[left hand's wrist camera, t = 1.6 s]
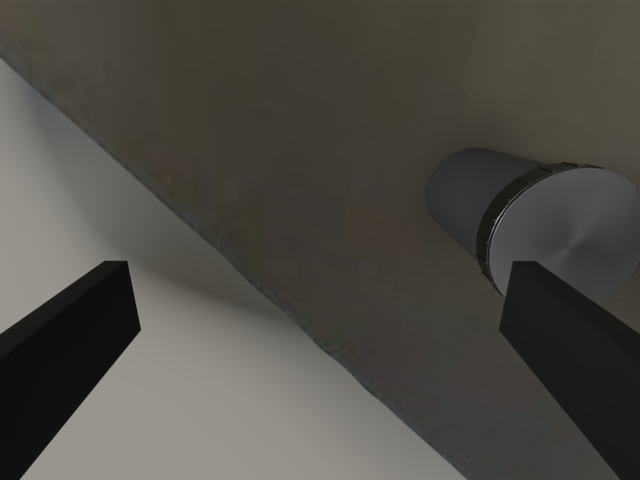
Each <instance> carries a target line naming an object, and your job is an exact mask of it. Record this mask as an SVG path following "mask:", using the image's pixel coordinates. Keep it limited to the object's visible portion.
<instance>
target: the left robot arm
mask: <svg viewBox="0 0 640 480" xmlns="http://www.w3.org/2000/svg"><path fill="white" fill-rule="evenodd" d="M140 331H141V327H140V322H139V317H138V313H137V307H136V303H135V297H134V293H133V287H132V283H131V278H130V273H129V268H128V263H127V261H104V262H102V263H101V264H100V265H98V266H97V267H95V268H94V269H92V270H91V271H89V272H88V273H87V274H85V275H84V276H82V277H81V278H80V279H78V280H77V281H75V282H74V283H72V284H71V285H70V286H68V287H67V288H65V289H64V290H62V291H61V292H60V293H58V294H57V295H55V296H54V297H52V298H51V299H50V300H48V301H47V302H45V303H44V304H43V305H41V306H40V307H38V308H37V309H35V310H34V311H33V312H31V313H30V314H28V315H27V316H25V317H24V318H23V319H21V320H20V321H18V322H17V323H15V324H14V325H13V326H11V327H10V328H8V329H7V330H6V331H4V332H3V333H1V334H0V480H20V478H21V477H22V476H23V475H24V474H25V472H26V471H27V470H28V469H29V467H30V466H31V465H32V464H33V462H34V461H35V460H36V459H37V458H38V456H39V455H40V454H41V453H42V451H43V450H44V449H45V448H46V446H47V445H48V444H49V443H50V442H51V440H52V439H53V438H54V437H55V435H56V434H57V433H58V432H59V430H60V429H61V428H62V427H63V425H64V424H65V423H66V422H67V421H68V419H69V418H70V417H71V416H72V414H73V413H74V412H75V411H76V409H77V408H78V407H79V406H80V404H81V403H82V402H83V401H84V400H85V398H86V397H87V396H88V395H89V393H90V392H91V391H92V390H93V388H94V387H95V386H96V385H97V384H98V382H99V381H100V380H101V379H102V377H103V376H104V375H105V374H106V372H107V371H108V370H109V369H110V368H111V366H112V365H113V364H114V363H115V361H116V360H117V359H118V358H119V356H120V355H121V354H122V353H123V352H124V350H125V349H126V348H127V347H128V345H129V344H130V343H131V342H132V340H133V339H134V338H135V337H136V335H137V334H138V333H139V332H140ZM499 331H500V332H501V333H502V334H503V336H504V337H505V338H506V339H507V340H508V342H509V343H510V344H511V345H512V347H513V348H514V349H515V350H516V352H517V353H518V354H519V355H520V356H521V358H522V359H523V360H524V361H525V363H526V364H527V365H528V366H529V368H530V369H531V370H532V371H533V373H534V374H535V375H536V376H537V377H538V379H539V380H540V381H541V382H542V384H543V385H544V386H545V387H546V389H547V390H548V391H549V392H550V393H551V395H552V396H553V397H554V398H555V400H556V401H557V402H558V403H559V405H560V406H561V407H562V408H563V409H564V411H565V412H566V413H567V414H568V416H569V417H570V418H571V419H572V421H573V422H574V423H575V424H576V425H577V427H578V428H579V429H580V430H581V432H582V433H583V434H584V435H585V437H586V438H587V439H588V440H589V442H590V443H591V444H592V445H593V446H594V448H595V449H596V450H597V451H598V453H599V454H600V455H601V456H602V458H603V459H604V460H605V461H606V462H607V464H608V465H609V466H610V467H611V469H612V470H613V471H614V472H615V474H616V475H617V476H618V477H619V478H620V480H640V334H639V333H637V332H636V331H634V330H633V329H632V328H630V327H629V326H627V325H626V324H625V323H623V322H622V321H620V320H619V319H617V318H616V317H615V316H613V315H612V314H610V313H609V312H607V311H606V310H605V309H603V308H602V307H600V306H599V305H597V304H596V303H595V302H593V301H592V300H590V299H589V298H588V297H586V296H585V295H583V294H582V293H580V292H579V291H578V290H576V289H575V288H573V287H572V286H570V285H569V284H568V283H566V282H565V281H563V280H562V279H561V278H559V277H558V276H556V275H555V274H553V273H552V272H551V271H549V270H548V269H546V268H545V267H543V266H542V265H541V264H539V263H538V262H536V261H513V263H512V268H511V273H510V278H509V282H508V287H507V292H506V297H505V302H504V307H503V312H502V317H501V322H500V327H499Z"/></svg>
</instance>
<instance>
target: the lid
mask: <svg viewBox="0 0 640 480" xmlns="http://www.w3.org/2000/svg"><path fill="white" fill-rule="evenodd" d="M476 235H477V237H476V253H477V254H476V256H477V258H478V263H479V265H480V268H481V270H482V273H483V274H484V275H485V277H486V278H487V279H488V280H489V281H490V283H491V284H492V285H493V287H494V288H495V289H496V290H497V291H498V292H499V293H500V294H501V295H502V296H503V297H506V292H507V287H508V282H509V278H510V273H511V268H512V263H513V261H536V262H538V263H539V264H541V265H542V266H543V267H545V268H546V269H548V270H549V271H551V272H552V273H553V274H555V275H556V276H558V277H559V278H561V279H562V280H563V281H565V282H566V283H568V284H569V285H570V286H572V287H573V288H575V289H576V290H578V291H579V292H580V293H582V294H583V295H585V296H586V297H588V298H589V299H590V300H592V301H593V302H595V303H598V302H599V301H601V300H603V299H604V298H606V297H608V296H609V295H611V294H612V293H613V292H614V291H616V290H617V289H618V288H619V287H620V286H621V285H622V284H623V283H624V282H625V281H626V280H627V279H628V278H629V277H630V276H631V274H632V273H633V272H634V271H635V269H636V268H637V266H638V265H639V263H640V190H639V189H638V188H637V187H636V186H635V185H634V184H633V183H632V182H631V181H629V180H628V179H627V178H625V177H623V176H621V175H619V174H618V173H615V172H612V171H609V170H605V168H602V167H597V166H592V165H587V164H585V165H581V164H575V163H567V162H562V163H556V164H550V165H545V166H542V167H541V166H539V167H538V168H536V169H533V170H531V171H529V172H527V173H525V174H523V175H521V176H519V177H517V178H516V179H515V180H513V181H512V182H511V183H509V184H508V185H507V186H506V187H504V188H503V189H502V190H501V191H500V192H499V193H498V194H497V196H496V197H495V198H494V199H493V200H492V202H491V203H490V205H489V206H488V208H487V209H486V211H485V213H484V215H483V217H482V219H481V222H480V225H479V228H478V232H477V234H476Z"/></svg>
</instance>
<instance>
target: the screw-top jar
mask: <svg viewBox="0 0 640 480" xmlns="http://www.w3.org/2000/svg"><path fill="white" fill-rule="evenodd" d="M545 165H549V164H545V163H541V162H537V161H533V160H528V159H524V158H520V157H516V156H512V155H508V154H503V153H499V152H495V151H491V150H487V149H481V148H472V149H466V150H462V151H460V152H457V153H455V154H453V155H451V156H450V157H448V158H447V159H446V160H444V161H443V162H442V163H441V164H440V165H439V166H438V168H437V169H436V170H435V172H434V173H433V175H432V177H431V179H430V182H429V185H428V190H427V203H428V207H429V210H430V213H431V215H432V216H433V218H434V219H435V220H436V221H437V223H438V224H440V225H441V226H442V227H443V228H444V229H445V230H446V231H447V232H448V233H449V234H450V235H451V236H452V237H453V238H454V239H455V240H456V241H457V242H458V243H459V244H460V245H461V246H462V247H463V248H464V249H465V250H467V251H468V252H469V253H470V254H471V255H472V256H473V257H474V258H475V259H476V260H477V261H478V258H477V256H476V254H477V253H476V237H477V235H476V234H477V232H478V228H479V225H480V222H481V219H482V217H483V215H484V213H485V211H486V209H487V208H488V206H489V205H490V203H491V202H492V200H493V199H494V198H495V197H496V196H497V194H498V193H499V192H500V191H501V190H502V189H503V188H504V187H506V186H507V185H508V184H509V183H511V182H512V181H513V180H515V179H516V178H517V177H519V176H521V175H523V174H525V173H527V172H529V171H531V170H533V169H536V168H538V167H539V166H541V167H542V166H545Z"/></svg>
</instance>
